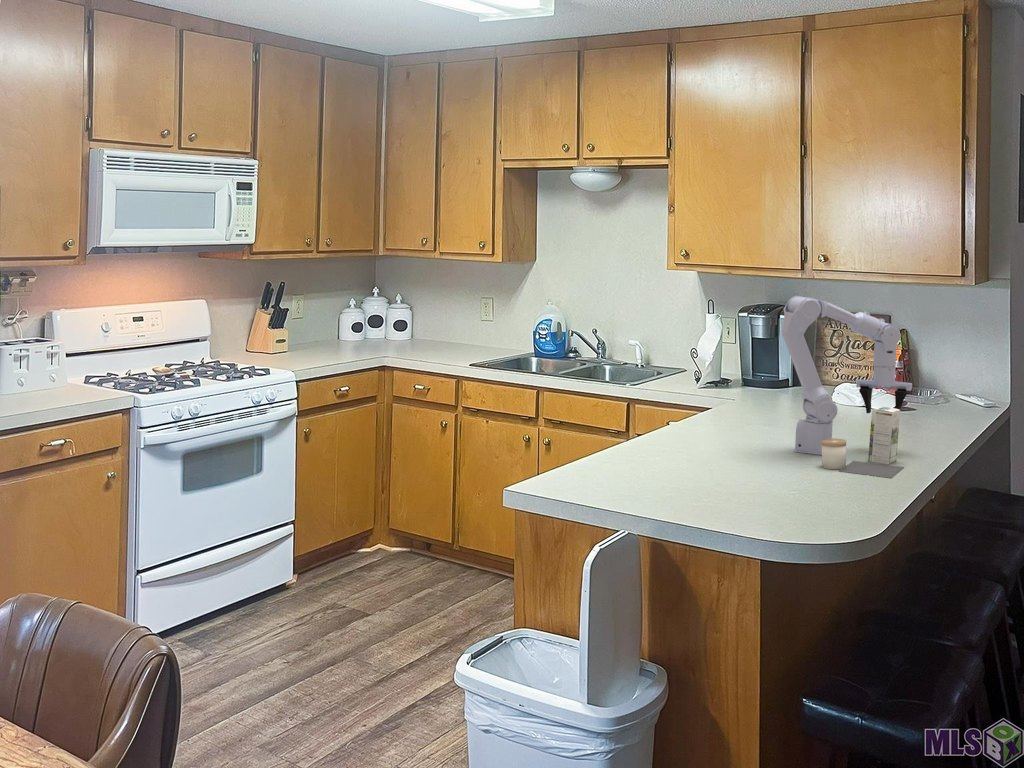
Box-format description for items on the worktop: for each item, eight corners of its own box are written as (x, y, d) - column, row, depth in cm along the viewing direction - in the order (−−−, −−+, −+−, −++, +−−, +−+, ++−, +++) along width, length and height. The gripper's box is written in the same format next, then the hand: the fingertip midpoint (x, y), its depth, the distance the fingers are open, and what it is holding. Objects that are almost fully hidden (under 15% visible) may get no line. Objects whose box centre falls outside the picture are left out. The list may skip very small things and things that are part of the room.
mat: (838, 472, 254) (838, 470, 254) (853, 461, 265) (853, 460, 265) (891, 479, 247) (891, 477, 246) (904, 468, 258) (904, 467, 258)
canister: (818, 468, 258) (818, 441, 257) (825, 463, 263) (825, 437, 262) (842, 470, 254) (842, 443, 254) (849, 465, 260) (849, 439, 259)
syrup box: (875, 458, 269) (878, 406, 267) (897, 461, 266) (900, 408, 264) (867, 462, 265) (870, 408, 263) (890, 465, 261) (893, 411, 259)
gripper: (915, 365, 274) (913, 414, 276) (862, 362, 283) (860, 409, 285) (909, 369, 269) (907, 418, 271) (854, 365, 277) (853, 413, 279)
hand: (882, 414), depth 277 cm, fingers open, 7 cm apart
